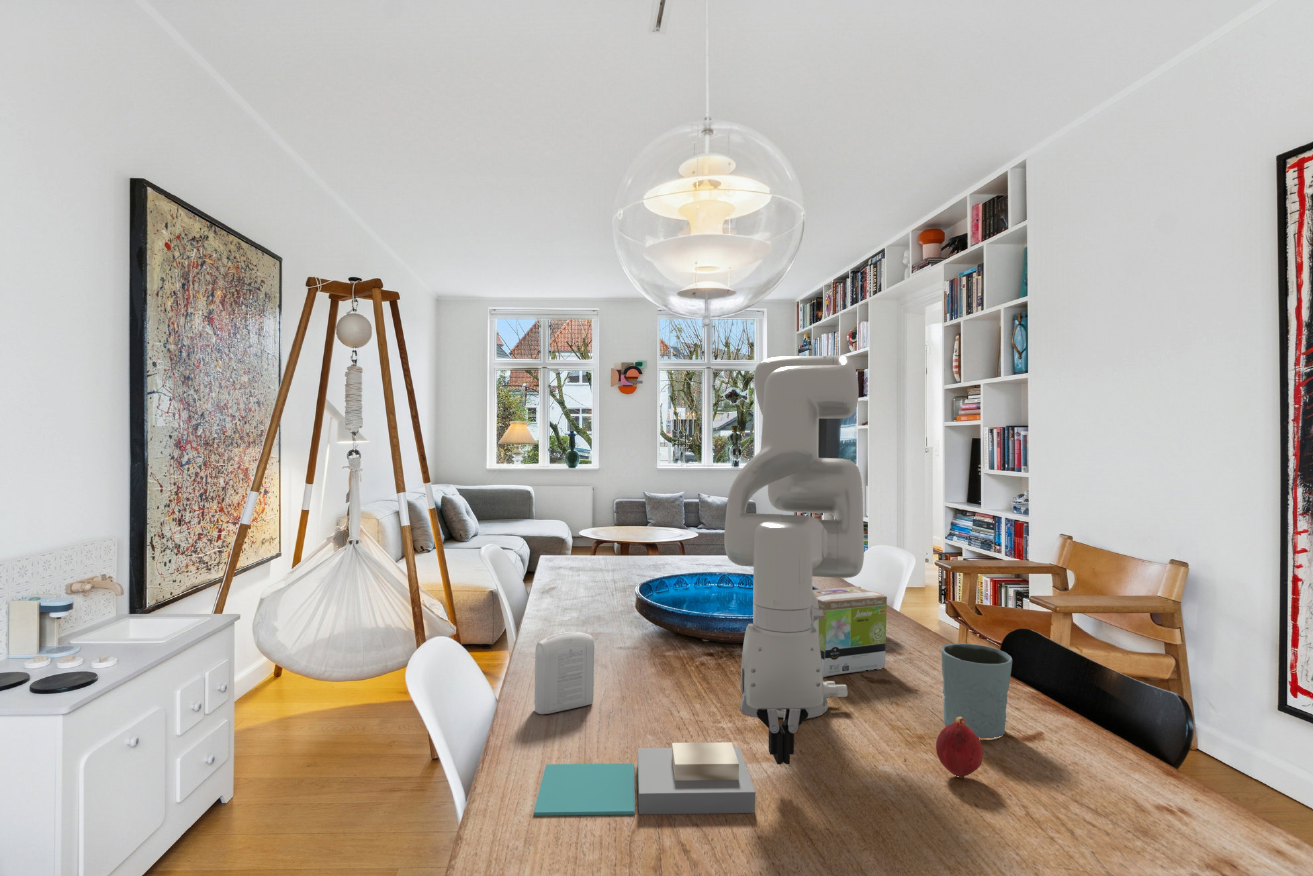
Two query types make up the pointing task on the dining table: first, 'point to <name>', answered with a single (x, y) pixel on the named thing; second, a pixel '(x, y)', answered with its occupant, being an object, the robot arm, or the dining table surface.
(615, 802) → the teal mat
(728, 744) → the birch tile
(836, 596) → the tea box
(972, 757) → the onion
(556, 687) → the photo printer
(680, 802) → the grey flat slab
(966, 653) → the blue ceramic planter
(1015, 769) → the dining table surface
